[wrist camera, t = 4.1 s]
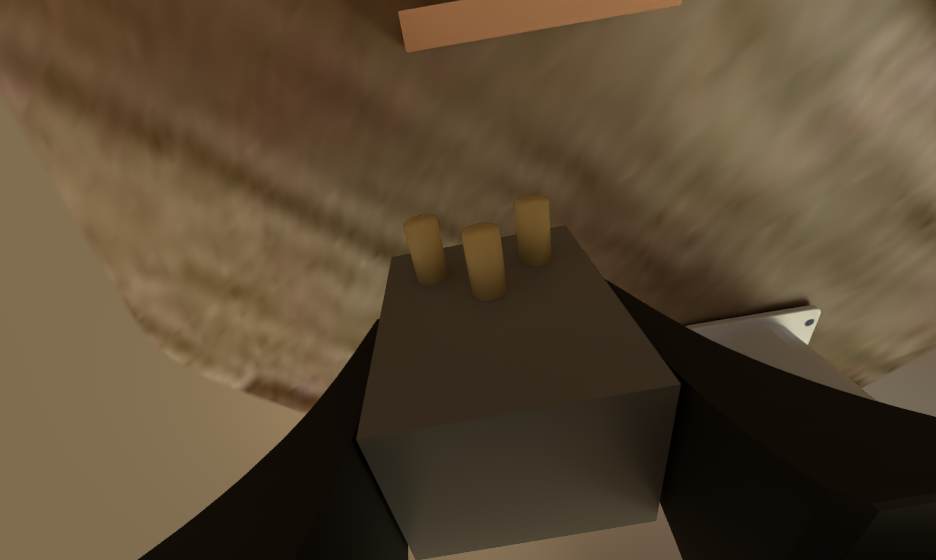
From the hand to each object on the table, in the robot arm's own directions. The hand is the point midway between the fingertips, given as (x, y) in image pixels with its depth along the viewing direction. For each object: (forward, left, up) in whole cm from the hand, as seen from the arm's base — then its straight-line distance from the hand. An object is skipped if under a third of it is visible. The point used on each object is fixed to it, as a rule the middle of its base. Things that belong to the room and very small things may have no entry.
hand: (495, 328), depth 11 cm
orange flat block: (+7, -3, -8) cm, 11 cm away
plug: (0, 0, -1) cm, 1 cm away
